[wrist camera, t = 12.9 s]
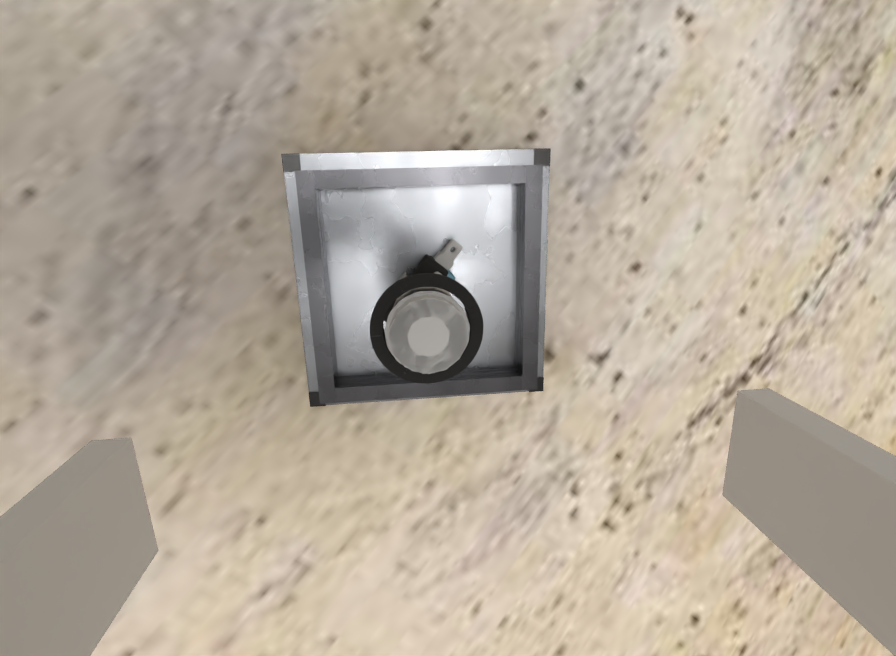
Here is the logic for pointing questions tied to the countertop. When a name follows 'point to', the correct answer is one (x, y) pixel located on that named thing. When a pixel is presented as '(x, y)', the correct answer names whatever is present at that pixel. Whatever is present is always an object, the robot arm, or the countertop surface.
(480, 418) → the countertop surface
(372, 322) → the push button
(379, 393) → the grey metal square tray
